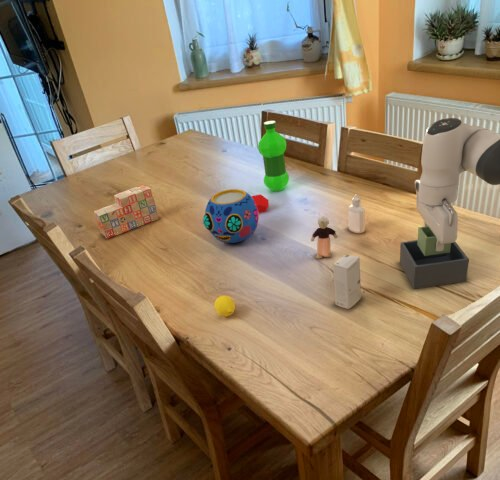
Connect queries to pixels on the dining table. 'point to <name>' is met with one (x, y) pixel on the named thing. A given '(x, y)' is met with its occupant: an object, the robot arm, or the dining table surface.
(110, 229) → the stack of blocks
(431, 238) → the small bin
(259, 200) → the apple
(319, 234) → the grandmother figurine
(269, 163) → the plastic bottle
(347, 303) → the cosmetic box
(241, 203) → the ceramic pot
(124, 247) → the dining table surface
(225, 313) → the lemon
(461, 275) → the big bin
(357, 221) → the eye dropper bottle
